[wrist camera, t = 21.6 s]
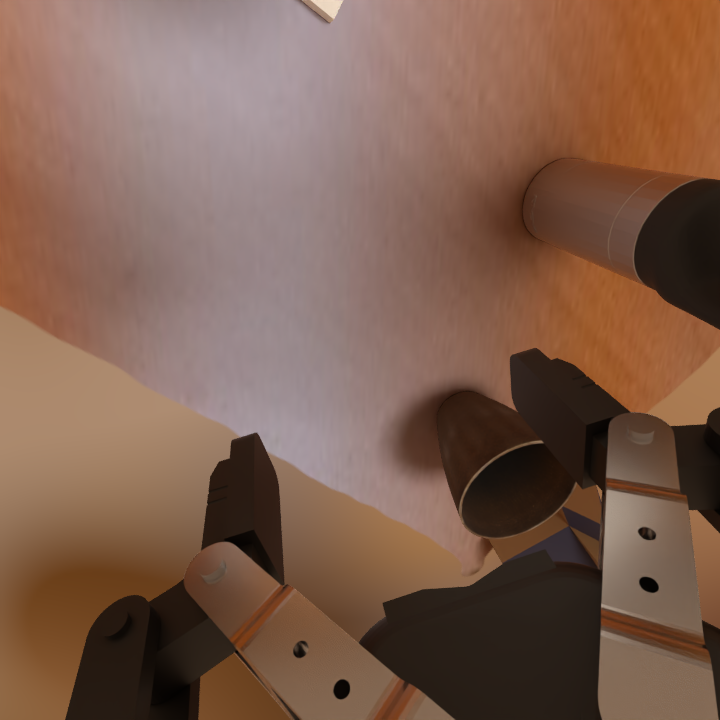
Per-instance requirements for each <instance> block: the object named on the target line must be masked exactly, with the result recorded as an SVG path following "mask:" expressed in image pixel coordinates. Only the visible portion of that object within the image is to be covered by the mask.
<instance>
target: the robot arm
mask: <svg viewBox="0 0 720 720" xmlns="http://www.w3.org/2000/svg"><path fill="white" fill-rule="evenodd" d="M523 218H524V222H525V225H526V228H527V229H528V231H529V232H530V233H531V234H532V235H533V236H534V237H535V238H538V239H540V240H542V241H544V242H547V243H549V244H551V245H553V246H556V247H557V248H560V249H562V250H564V251H567V252H569V253H571V254H573V255H576V256H578V257H580V258H583V259H585V260H587V261H589V262H592V263H594V264H596V265H599V266H601V267H603V268H605V269H608V270H610V271H612V272H615V273H617V274H619V275H622V276H624V277H626V278H629V279H631V280H633V281H636V282H638V283H640V284H643V285H645V286H647V287H650V288H652V289H654V290H656V291H657V292H658V294H659V295H660V296H661V297H662V298H663V299H664V300H665V301H667V302H668V303H670V304H672V305H674V306H675V307H677V308H679V309H681V310H684V311H686V312H688V313H689V314H691V315H693V316H695V317H697V318H699V319H701V320H703V321H705V322H706V323H708V324H710V325H712V326H714V327H716V328H718V329H719V330H720V180H715V179H708V178H701V177H694V176H688V175H681V174H673V173H666V172H660V171H653V170H646V169H640V168H633V167H626V166H620V165H613V164H606V163H600V162H594V161H587V160H581V159H574V158H564V159H560V160H557V161H554V162H553V163H551V164H549V165H547V166H546V167H545V168H544V169H542V170H541V171H540V172H539V173H538V174H537V176H536V177H535V178H534V179H533V181H532V182H531V184H530V186H529V188H528V190H527V192H526V195H525V199H524V203H523ZM510 374H511V392H512V399H513V403H514V405H515V407H516V409H517V411H518V413H519V414H520V415H521V417H522V418H523V419H524V420H525V421H526V423H527V424H528V425H529V426H530V427H531V429H532V430H533V431H534V432H535V433H536V435H537V436H538V437H539V438H540V439H541V441H542V442H543V443H544V444H545V445H546V447H547V448H548V449H549V450H550V451H551V453H552V454H553V455H554V456H555V457H556V459H557V460H558V461H559V462H560V463H561V465H562V466H563V467H564V468H565V469H566V470H567V472H568V473H569V474H570V475H571V476H572V478H573V479H574V480H575V481H576V482H577V484H578V485H579V486H580V487H581V488H582V489H585V488H588V487H591V486H594V485H598V487H599V488H600V489H601V490H602V502H601V520H600V538H599V555H598V568H594V567H591V566H587V565H584V564H579V563H573V562H561V561H556V562H553V561H552V559H551V557H550V556H549V554H548V553H547V551H546V550H545V549H544V550H541V551H538V552H535V553H532V554H529V555H526V556H523V557H520V558H517V559H514V560H511V561H508V562H505V563H504V564H502V565H501V566H499V567H498V568H496V569H495V570H493V571H492V572H490V573H489V574H487V575H486V576H484V577H483V578H481V579H480V580H479V581H477V582H476V583H474V584H472V585H470V586H467V587H455V588H439V589H424V590H420V591H417V592H414V593H411V594H408V595H406V596H402V597H399V598H396V599H394V600H390V601H387V602H384V603H383V607H384V610H385V615H386V617H384V618H383V619H382V620H380V621H378V622H377V623H376V624H375V625H374V626H373V627H372V628H370V629H369V631H368V632H367V633H366V634H365V635H364V636H363V637H362V639H361V640H360V641H359V643H358V642H356V641H355V640H354V639H353V638H352V637H351V636H349V635H348V634H347V633H346V632H345V631H343V630H342V629H341V628H340V627H339V626H337V625H336V624H335V623H334V622H333V621H332V620H331V619H329V618H328V617H327V616H326V615H325V614H324V613H322V612H321V611H320V610H319V609H318V608H317V607H315V606H314V605H313V604H312V603H311V602H310V601H308V600H307V599H306V598H304V596H302V595H301V594H300V593H299V592H298V591H297V590H295V589H294V588H293V587H291V586H290V585H286V586H285V587H283V585H284V567H283V549H282V531H281V514H280V496H279V484H278V479H277V475H276V472H275V470H274V467H273V465H272V462H271V460H270V458H269V456H268V454H267V452H266V449H265V447H264V445H263V443H262V441H261V439H260V437H259V435H258V434H257V433H253V434H250V435H247V436H243V437H240V438H237V439H234V440H232V442H231V451H230V459H226V460H223V461H220V462H219V463H218V464H217V466H216V468H215V469H214V471H213V473H212V475H211V476H210V485H209V494H208V500H207V503H208V506H207V508H206V516H205V524H204V533H203V541H202V548H201V552H200V553H198V554H197V555H196V556H195V557H194V558H193V560H192V561H191V562H190V564H189V565H188V567H187V569H186V571H185V575H184V579H183V580H182V581H181V582H179V583H178V584H177V585H175V586H174V587H172V588H170V589H169V590H167V591H166V592H164V593H163V594H161V595H159V596H158V597H156V598H154V599H153V600H151V601H150V602H148V601H147V600H146V599H145V598H144V597H142V596H139V595H131V596H127V597H124V598H122V599H119V600H118V601H116V602H114V603H113V604H112V605H110V606H109V607H108V608H106V609H105V610H104V611H103V612H102V613H101V614H100V615H99V617H98V618H97V619H96V621H95V622H94V624H93V625H92V627H91V629H90V631H89V633H88V636H87V639H86V643H85V646H84V650H83V654H82V658H81V662H80V666H79V669H78V673H77V677H76V681H75V685H74V688H73V692H72V697H71V700H70V704H69V707H68V712H67V715H66V719H65V720H198V713H199V691H200V676H202V675H203V674H204V673H206V672H207V671H209V670H210V669H211V668H213V667H214V666H216V665H217V664H218V663H220V662H221V661H223V660H224V659H225V658H227V657H228V656H230V655H231V654H233V653H235V654H236V655H237V656H238V658H239V659H240V660H241V661H242V662H243V663H244V665H245V666H246V667H247V668H248V669H249V670H250V671H251V672H252V674H253V675H254V676H255V677H256V678H257V679H258V681H260V683H261V684H262V685H263V686H264V688H265V689H266V690H267V691H268V692H269V693H270V694H271V696H272V697H273V698H274V699H275V700H276V701H277V703H278V704H279V705H280V706H281V707H282V709H283V710H284V711H285V712H286V714H287V715H288V716H289V717H290V719H291V720H720V629H718V628H717V627H715V626H713V625H711V624H708V623H707V622H705V621H703V620H702V619H701V611H700V603H699V593H698V585H697V576H696V568H695V559H694V551H693V543H692V533H691V525H690V516H689V510H698V511H699V512H700V513H701V514H702V515H703V516H704V517H705V518H706V519H707V520H708V522H709V523H711V524H712V526H713V527H714V528H715V529H716V530H717V531H718V532H719V533H720V408H717V409H715V410H713V411H712V412H711V413H710V414H709V416H708V419H707V423H706V424H704V425H686V426H669V425H668V424H667V423H666V422H665V421H663V420H662V419H659V418H658V417H655V416H653V415H649V414H645V413H636V412H632V413H631V412H630V411H628V410H627V409H626V408H625V407H624V406H622V405H621V404H620V403H619V402H618V401H617V400H615V399H614V398H613V397H612V396H611V395H609V394H608V393H607V392H606V391H605V390H603V389H602V388H601V387H600V386H599V385H596V384H595V382H594V381H593V380H591V379H590V378H589V377H586V375H585V374H584V373H583V372H582V371H581V370H579V369H578V368H577V367H576V366H575V365H573V364H571V363H568V362H566V361H563V360H561V359H558V358H556V359H553V360H550V359H549V358H548V357H547V356H545V355H544V354H543V353H542V352H541V351H540V350H539V349H537V348H533V349H530V350H527V351H523V352H520V353H517V354H513V355H511V357H510Z"/></svg>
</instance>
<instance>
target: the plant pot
mask: <svg viewBox="0 0 720 720" xmlns="http://www.w3.org/2000/svg"><path fill="white" fill-rule="evenodd" d="M437 430H438V440H439V446H440V452H441V458H442V462H443V467H444V471H445V474H446V478H447V482H448V485H449V488H450V491H451V494H452V497H453V500H454V503H455V505H456V508H457V511H458V514H459V516H460V519H461V521H462V524H463V525H464V527H465V528H466V529H467V530H468V531H469V532H471V533H472V534H474V535H476V536H479V537H482V538H487V539H503V538H509V537H513V536H517V535H520V534H523V533H525V532H527V531H530V530H532V529H534V528H536V527H537V526H539V525H541V524H542V523H544V522H545V521H547V520H548V519H549V518H551V517H552V516H553V515H554V514H555V513H557V512H558V511H559V510H560V509H561V508H562V507H563V505H564V504H565V503H566V502H567V501H568V499H569V498H570V496H571V495H572V493H573V491H574V489H575V487H576V485H577V482H576V481H575V480H574V479H573V478H572V476H571V475H570V474H569V473H568V472H567V470H566V469H565V468H564V467H563V466H562V465H561V463H560V462H559V461H558V460H557V459H556V457H555V456H554V455H553V454H552V453H551V451H550V450H549V449H548V448H547V447H546V445H545V444H544V443H543V442H542V441H541V439H540V438H539V437H538V436H537V435H536V433H535V432H534V431H533V430H532V429H531V427H530V426H529V425H528V424H527V423H526V421H525V420H524V419H523V418H522V417H521V415H520V414H519V413H518V412H517V411H515V410H513V409H511V408H509V407H507V406H505V405H503V404H501V403H499V402H497V401H495V400H492V399H490V398H488V397H485V396H483V395H480V394H477V393H474V392H461V393H457V394H455V395H453V396H451V397H450V398H448V399H447V400H446V401H445V402H444V403H443V404H442V406H441V407H440V409H439V411H438V414H437Z"/></svg>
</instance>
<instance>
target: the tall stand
mask: <svg viewBox="0 0 720 720" xmlns="http://www.w3.org/2000/svg"><path fill="white" fill-rule="evenodd" d="M301 1H303V2H304V3H305V4H306V5H308V6H309V7H310V8H311V9H313V10H314V11H315V12H316V13H318V14H319V15H320V16H322V17H323V18H324V19H325V20H327V21H328V22H329V23H331V22H332V21H333V20H334V18H335V16H336V14H337V12H338V10H339V8H340V6H341V4H342V2H343V0H301Z"/></svg>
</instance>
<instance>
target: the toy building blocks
mask: <svg viewBox="0 0 720 720" xmlns="http://www.w3.org/2000/svg"><path fill="white" fill-rule="evenodd" d="M600 520H601V500H600V496H599V493H598V490H597V487H596V485H594V486H591V487H588V488H585V489H582V488H581V487H580V486H579V485H578V484H577V485H576V487H575V489H574V491H573V493H572V495H571V496H570V498H569V499H568V501H567V502H566V503H565V504H564V505H563V507H562V508H561V509H560V510H559V511H558V512H557V513H555V514H554V515H553V516H552V517H551V518H549V519H548V520H547V521H545V522H544V523H542V524H541V525H539V526H537V527H536V528H534V529H532V530H530V531H527V532H525V533H523V534H520V535H517V536H513V537H509V538H503V539H489V541H490V543H491V544H492V546H493V548H494V550H495V551H496V553H497V555H498V556H499V558H500V560H501V562H502V563H503V564H504V563H505V562H508V561H511V560H514V559H517V558H520V557H523V556H526V555H529V554H532V553H535V552H538V551H541V550H544V549H545V550H546V551H547V553H548V554H549V556H550V557H551V559H552V561H553V562H556V561H561V562H573V563H579V564H584V565H587V566H591V567H594V568H598V555H599V538H600Z"/></svg>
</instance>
